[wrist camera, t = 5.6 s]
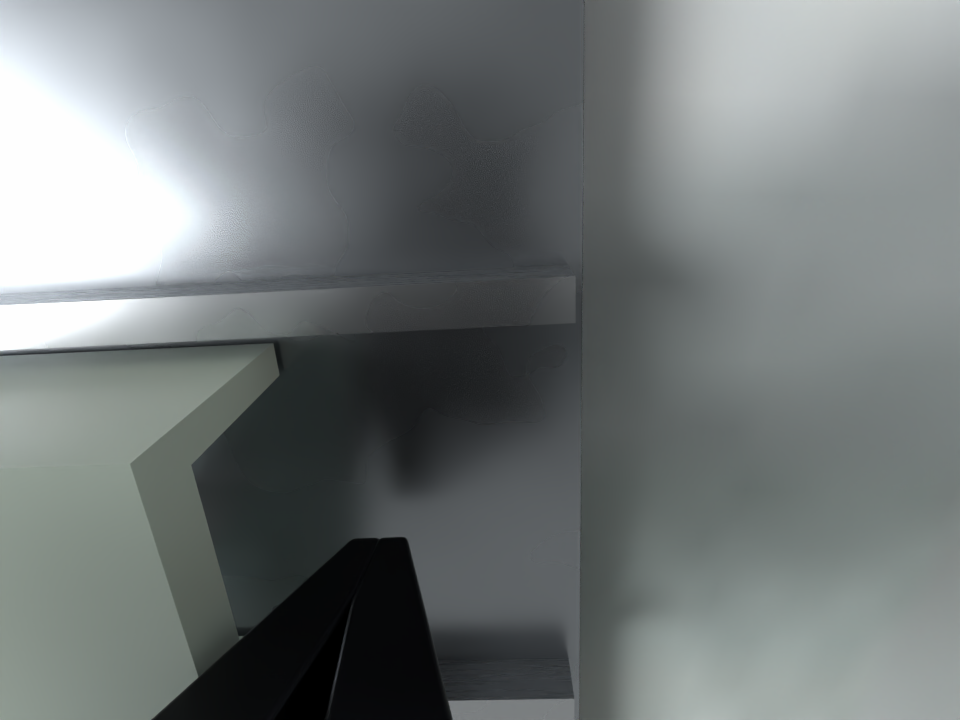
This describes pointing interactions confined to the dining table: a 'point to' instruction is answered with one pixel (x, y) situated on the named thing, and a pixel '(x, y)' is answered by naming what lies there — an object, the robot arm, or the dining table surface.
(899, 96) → the dining table surface
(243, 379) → the housing cover
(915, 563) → the dining table surface
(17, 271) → the housing base
